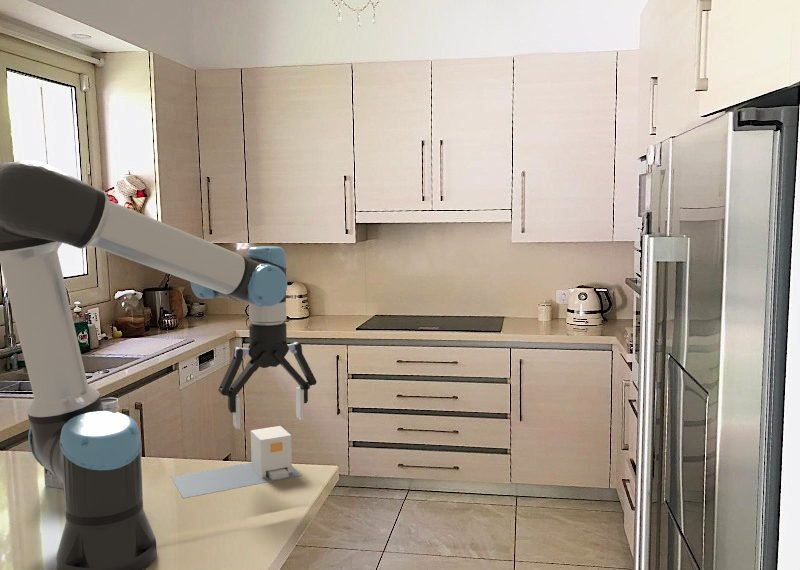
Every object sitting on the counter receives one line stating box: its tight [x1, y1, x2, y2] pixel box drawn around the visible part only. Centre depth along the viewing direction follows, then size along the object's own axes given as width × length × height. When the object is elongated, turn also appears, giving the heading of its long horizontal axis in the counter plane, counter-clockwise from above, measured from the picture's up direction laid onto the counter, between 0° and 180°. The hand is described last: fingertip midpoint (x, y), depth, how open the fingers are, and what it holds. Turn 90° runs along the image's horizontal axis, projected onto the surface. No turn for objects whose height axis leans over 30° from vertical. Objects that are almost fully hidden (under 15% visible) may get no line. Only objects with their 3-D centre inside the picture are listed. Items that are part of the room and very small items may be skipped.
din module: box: [250, 425, 293, 478], centre depth 156 cm, size 7×6×8 cm
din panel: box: [170, 462, 303, 499], centre depth 153 cm, size 12×24×2 cm, turn 118°
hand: (269, 423), depth 155 cm, fingers open, 13 cm apart
